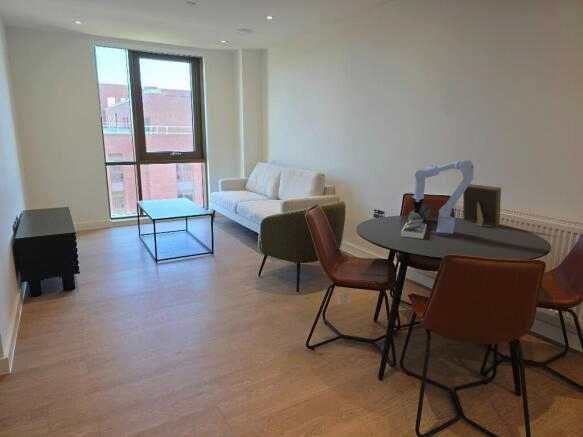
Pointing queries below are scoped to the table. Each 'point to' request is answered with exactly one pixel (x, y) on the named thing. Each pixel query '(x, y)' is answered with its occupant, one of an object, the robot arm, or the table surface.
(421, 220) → the far rocker
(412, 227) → the near rocker
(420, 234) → the switch panel
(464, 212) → the photo frame
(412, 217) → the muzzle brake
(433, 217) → the table surface
